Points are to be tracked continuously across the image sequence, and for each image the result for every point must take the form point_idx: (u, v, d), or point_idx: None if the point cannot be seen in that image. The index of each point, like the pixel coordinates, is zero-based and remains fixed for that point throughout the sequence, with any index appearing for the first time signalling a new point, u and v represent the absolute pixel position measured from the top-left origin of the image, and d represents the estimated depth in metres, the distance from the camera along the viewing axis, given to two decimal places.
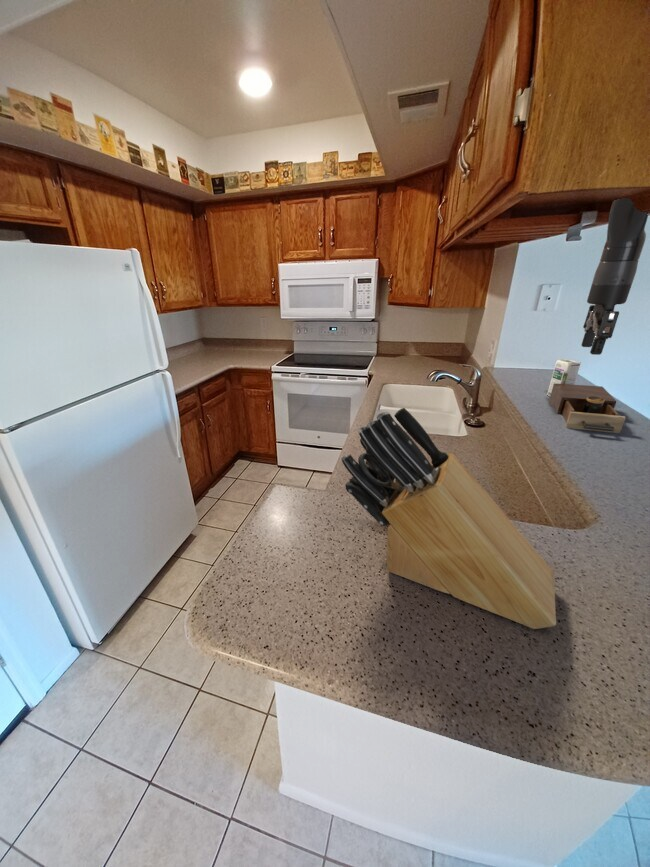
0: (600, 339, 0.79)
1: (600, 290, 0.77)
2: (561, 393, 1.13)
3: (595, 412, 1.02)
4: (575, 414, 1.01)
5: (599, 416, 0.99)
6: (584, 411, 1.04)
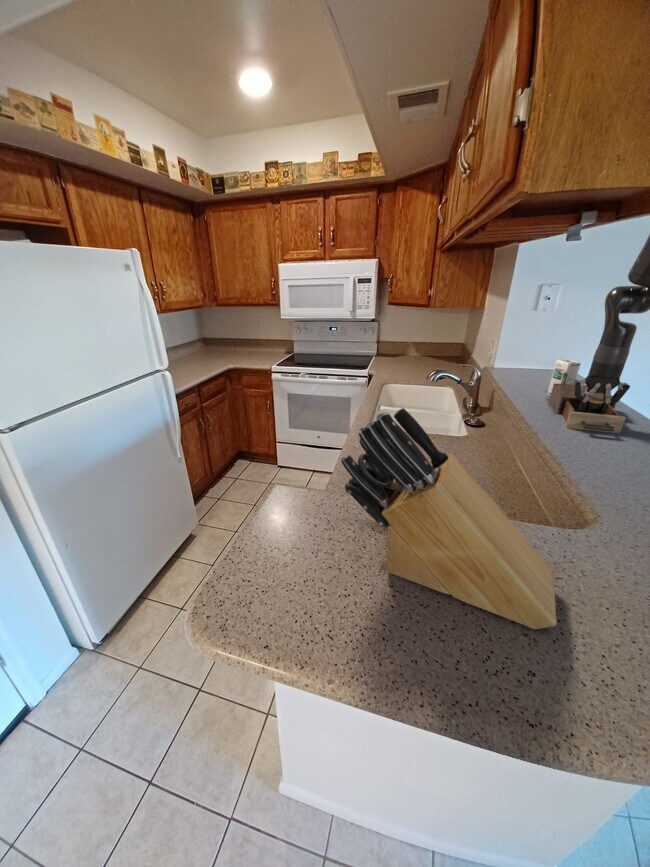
0: None
1: None
2: (561, 393, 1.13)
3: (595, 412, 1.02)
4: (575, 414, 1.01)
5: (599, 416, 0.99)
6: None
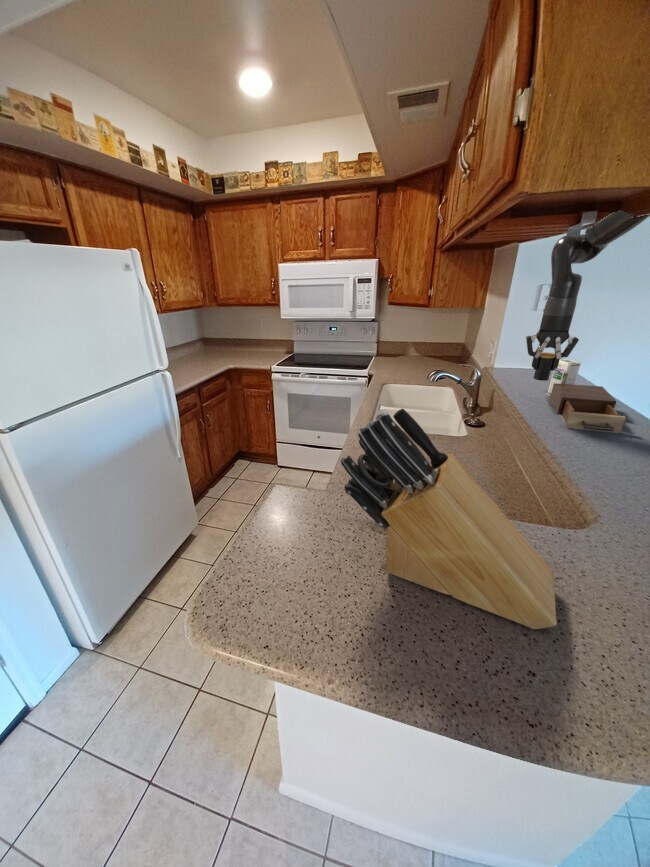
0: None
1: None
2: (561, 393, 1.13)
3: (546, 367, 1.02)
4: (575, 414, 1.01)
5: (599, 416, 0.99)
6: (537, 367, 1.05)
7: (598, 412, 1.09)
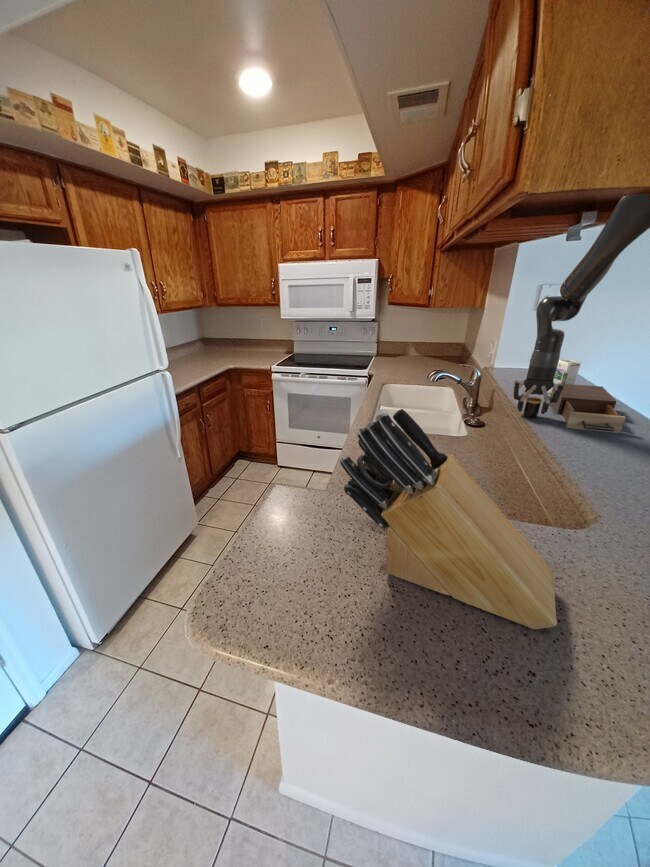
0: (518, 399, 1.12)
1: None
2: (561, 393, 1.13)
3: (533, 411, 1.09)
4: (575, 414, 1.01)
5: (599, 416, 0.99)
6: (524, 411, 1.12)
7: (598, 412, 1.09)
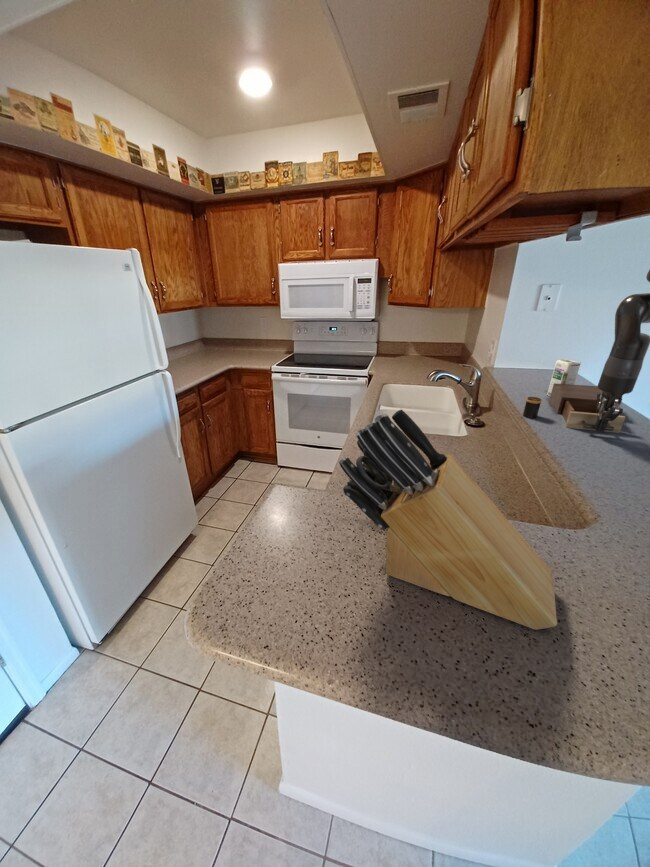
0: (603, 420, 0.93)
1: (610, 381, 0.87)
2: (561, 393, 1.13)
3: (533, 411, 1.09)
4: (575, 414, 1.01)
5: None
6: (524, 411, 1.12)
7: None
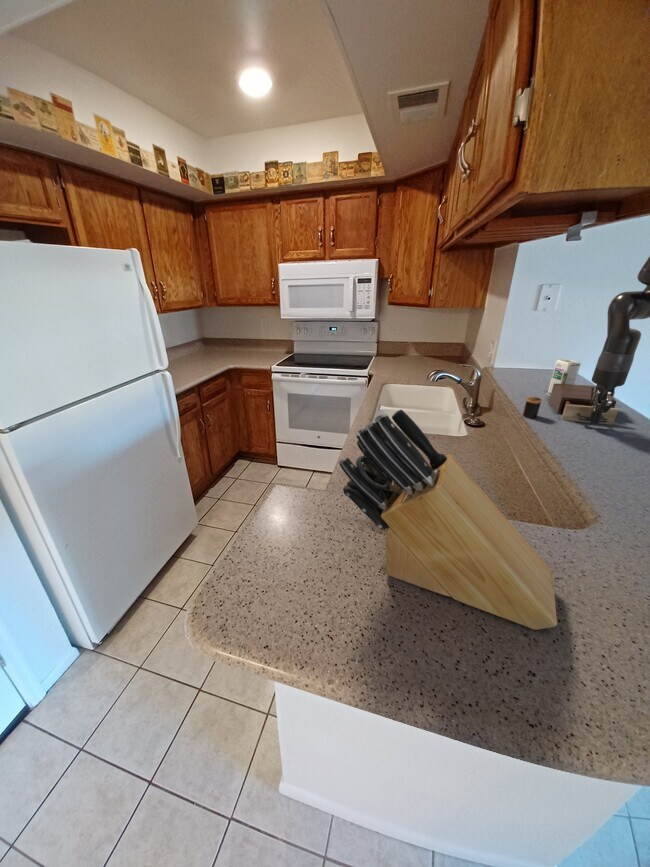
0: (597, 412, 0.98)
1: (603, 374, 0.92)
2: (561, 393, 1.13)
3: (533, 411, 1.09)
4: (570, 407, 1.06)
5: None
6: (524, 411, 1.12)
7: None
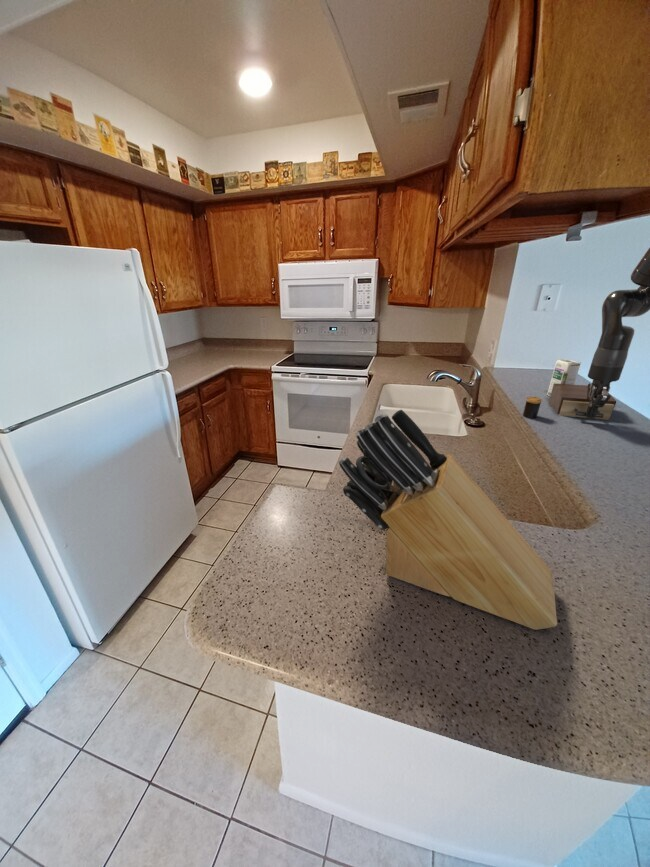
0: (594, 407, 1.01)
1: (598, 370, 0.96)
2: (561, 393, 1.13)
3: (533, 411, 1.09)
4: (568, 402, 1.09)
5: None
6: (524, 411, 1.12)
7: None
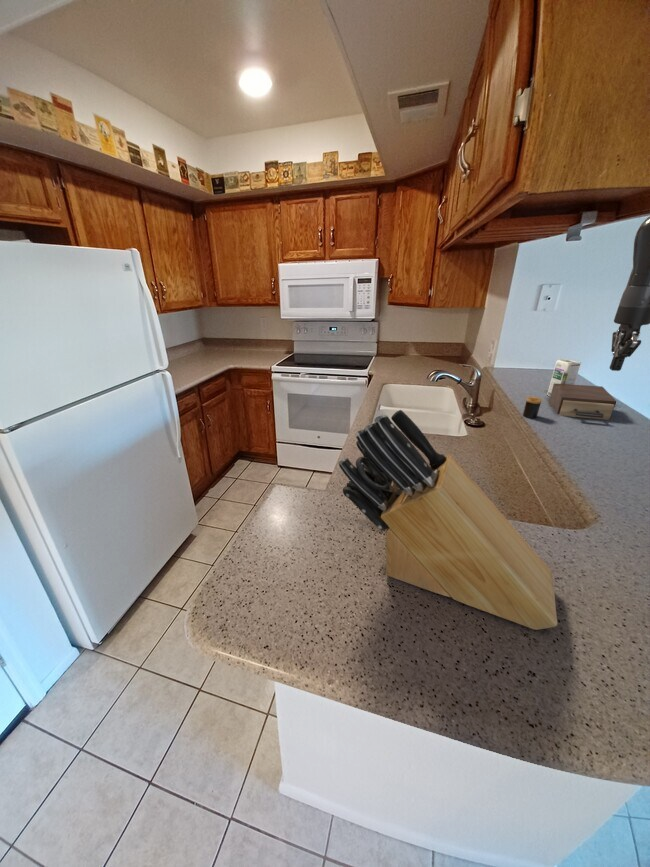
0: (620, 357, 0.89)
1: (628, 311, 0.83)
2: (561, 393, 1.13)
3: (533, 411, 1.09)
4: (568, 402, 1.09)
5: (590, 404, 1.07)
6: (524, 411, 1.12)
7: None
